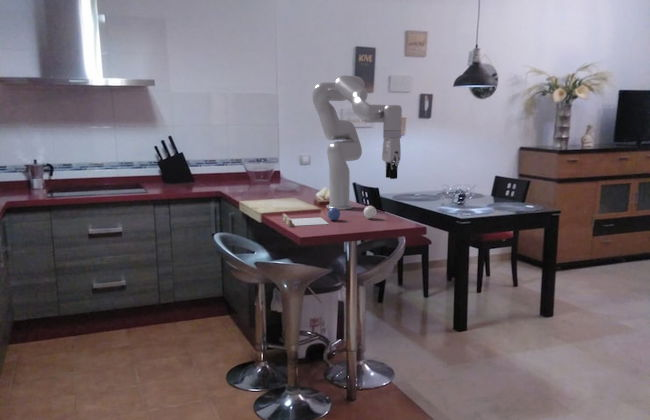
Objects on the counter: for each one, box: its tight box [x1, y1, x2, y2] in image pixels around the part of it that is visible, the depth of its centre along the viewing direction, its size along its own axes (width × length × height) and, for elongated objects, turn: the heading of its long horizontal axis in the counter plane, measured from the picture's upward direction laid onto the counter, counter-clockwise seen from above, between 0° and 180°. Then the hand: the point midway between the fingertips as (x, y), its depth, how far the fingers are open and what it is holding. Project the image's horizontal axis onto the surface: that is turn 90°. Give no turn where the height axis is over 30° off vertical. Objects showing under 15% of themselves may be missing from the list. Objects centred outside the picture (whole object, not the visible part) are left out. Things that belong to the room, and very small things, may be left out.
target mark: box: [290, 217, 330, 227], centre depth 223 cm, size 14×14×1 cm
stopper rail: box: [282, 213, 293, 228], centre depth 220 cm, size 16×1×2 cm, turn 14°
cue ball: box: [363, 205, 377, 220], centre depth 229 cm, size 6×6×6 cm
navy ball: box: [326, 208, 341, 222], centre depth 225 cm, size 6×6×6 cm
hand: (391, 177), depth 228 cm, fingers open, 3 cm apart
